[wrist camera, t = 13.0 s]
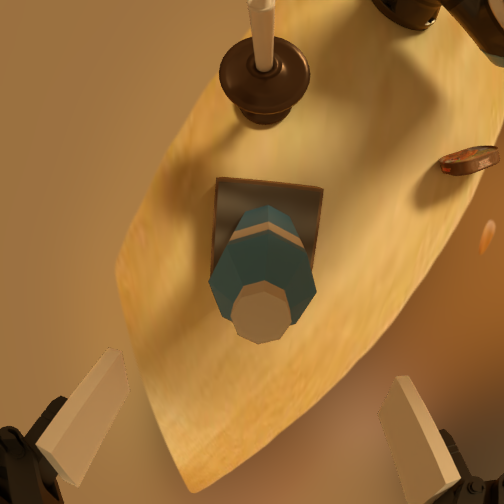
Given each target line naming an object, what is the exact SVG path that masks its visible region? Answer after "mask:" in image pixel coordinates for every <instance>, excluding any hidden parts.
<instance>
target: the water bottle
mask: <svg viewBox="0 0 504 504" xmlns="http://www.w3.org/2000/svg"><path fill="white" fill-rule="evenodd" d="M208 282H209V284H210V287H211V289H212V292H213V295H214V297H215V300H216V302H217V305H218V307H219V310H220V312H221V315H222V317H224V318H226V319H228V320H230V321H232V322H233V324H234V326H235V329H236V331H237V334H238V335H239V336H241V337H243V338H245V339H248V340H250V341H252V342H254V343H256V344H261V343H266V342H270V341H274V340H278V339H280V338H281V337H282V335H283V334H284V333H285V331H286V330H287V328H288V327H289V325H293V324H296V322H297V321H298V319H299V318H300V316H301V315H302V314H303V312H304V311H305V309H306V308H307V306H308V305H309V303H310V302H311V300H312V299H313V297H314V295H315V294H316V292H317V291H316V287H315V283H314V279H313V275H312V271H311V268H310V264H309V260H308V256H307V253H306V251H305V249H304V246H303V244H302V242H301V240H300V238H299V235H298V233H297V231H296V229H295V227H294V225H293V223H292V220H291V218H290V216H288V215H286V214H284V213H282V212H281V211H279V210H277V209H275V208H273V207H271V206H269V205H266V206H263V207H259V208H256V209H253V210H249V211H246V212H245V213H244V215H243V216H242V218H241V220H240V222H239V224H238V225H237V227H236V229H235V231H234V233H233V235H232V236H231V238H230V240H229V242H228V244H227V246H226V248H225V250H224V252H223V253H222V255H221V257H220V259H219V261H218V263H217V265H216V267H215V269H214V271H213V273H212V275H211V277H210V279H209V281H208Z"/></svg>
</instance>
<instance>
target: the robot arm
mask: <svg viewBox="0 0 504 504" xmlns="http://www.w3.org/2000/svg"><path fill="white" fill-rule="evenodd" d="M372 1H373V2H374V4H375V5H376V7H377V8H378V9H379V10H380V11H381V12H382V13H383V14H384V15H386V16H387V17H388V18H389V19H391V20H392V21H394V22H396V23H397V24H399V25H401V26H403V27H406V28H409V29H413V30H424V29H427V28H428V27H430V26H431V25H432V24H433V23H434V22H435V21H436V18H437V16H438V13H439V10H440V7H441V5H443V6H444V7H445V8H446V9H447V10H448V12H449V13H450V14H451V15H452V16H453V17H454V18H455V19H456V20H457V21H458V23H459V24H460V25H461V26H462V27H463V28H464V29H465V31H466V32H467V33H468V34H469V36H470V37H471V38H472V39H473V40H474V42H475V43H476V44H477V46H478V47H479V49H480V50H481V51H482V52H483V53H484V54H485V55H486V56H487V57H488V59H489V60H490V61H491V62H492V63H493V64H495V65H496V66H499V67H503V68H504V0H372ZM129 393H130V388H129V383H128V379H127V374H126V370H125V365H124V360H123V354H122V351H120V350H116V349H112V348H108V349H107V350H106V351H105V353H104V354H103V355H102V356H101V357H100V359H99V360H98V361H97V363H96V364H95V365H94V366H93V367H92V369H91V370H90V371H89V372H88V374H87V375H86V376H85V378H84V379H83V380H82V381H81V383H80V384H79V385H78V387H77V388H76V389H75V391H74V392H73V393H72V395H71V396H70V397H69V398H68V399H67V398H65V397H62V396H60V397H58V398H56V399H55V400H53V401H52V402H51V403H50V404H49V405H48V407H47V408H46V410H45V411H44V412H43V413H42V414H41V417H39V418H38V420H37V421H36V422H35V424H34V425H33V426H32V428H31V429H30V430H29V432H28V433H27V434H26V436H25V437H23V435H22V434H21V433H20V431H19V430H18V429H17V428H14V427H12V426H6V427H2V428H1V429H0V504H64V501H63V498H62V496H61V492H60V489H59V486H58V482H57V480H56V476H57V475H58V474H59V476H60V477H61V478H62V479H63V480H64V481H66V482H68V483H70V484H72V485H74V486H76V487H79V485H80V483H81V481H82V479H83V478H84V475H85V474H86V472H87V470H88V468H89V466H90V464H91V462H92V460H93V458H94V456H95V454H96V453H97V451H98V449H99V447H100V445H101V443H102V441H103V440H104V437H105V436H106V434H107V432H108V430H109V428H110V427H111V425H112V423H113V421H114V419H115V418H116V416H117V414H118V412H119V410H120V409H121V407H122V405H123V403H124V401H125V399H126V398H127V396H128V394H129ZM377 414H378V417H379V420H380V423H381V425H382V428H383V431H384V434H385V437H386V439H387V442H388V445H389V448H390V451H391V454H392V457H393V460H394V463H395V466H396V469H397V472H398V476H399V479H400V482H401V485H402V488H403V492H404V495H405V498H406V502H407V504H504V474H503V475H501V476H500V477H499V478H498V479H497V480H491V481H483V480H482V479H481V478H479V477H475V476H472V475H471V474H470V472H469V470H468V468H467V466H466V464H465V462H464V459H463V457H462V455H461V453H460V452H459V450H458V447H457V446H456V445H455V442H454V440H453V438H452V436H451V435H450V434H449V433H448V432H447V431H446V430H445V429H442V430H438V429H437V427H436V425H435V423H434V421H433V419H432V417H431V415H430V414H429V412H428V410H427V408H426V406H425V404H424V402H423V401H422V399H421V397H420V395H419V394H418V392H417V390H416V388H415V386H414V385H413V383H412V381H411V379H410V378H409V376H396V377H395V379H394V382H393V384H392V386H391V388H390V390H389V392H388V394H387V396H386V398H385V400H384V402H383V404H382V406H381V408H380V410H379V411H378V413H377Z"/></svg>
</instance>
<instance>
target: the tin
mask: <svg viewBox="0 0 504 504" xmlns="http://www.w3.org/2000/svg"><path fill="white" fill-rule="evenodd" d="M499 161H500V157H499V152H498V147H496V146H476V147H471V148H468V149H465V150H462V151H459V152H456V153H452V154H449V155H446V156H444V157H442V158H440V159H439V162H440V164H441V169H442V172H443V173H444V174H449V175H453V176H462V175H468V174H472V173H475V172H478V171H480V170H483V169H485V168H488V167H490V166H493V165H495V164H497V163H498V162H499Z"/></svg>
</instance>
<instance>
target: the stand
mask: <svg viewBox="0 0 504 504" xmlns="http://www.w3.org/2000/svg"><path fill="white" fill-rule="evenodd" d="M323 190H324V189H322V188H319V187H315V186H307V185H299V184H291V183H282V182H273V181H263V180H253V179H241V178H229V177H219V178H216V189H215V203H214V218H213V234H212V252H211V273H210V277H211V275H212V273H213V271H214V269H215V267H216V265H217V263H218V261H219V259H220V257H221V255H222V253H223V252H224V250H225V248H226V246H227V244H228V242H229V240H230V238H231V236H232V235H233V233H234V231H235V229H236V227H237V225H238V224H239V222H240V220H241V218H242V216H243V215H244V213H245V212H246V211H249V210H253V209H256V208H259V207H263V206H266V205H269V206H271V207H273V208H275V209H277V210H279V211H281V212H282V213H284V214H286V215H288V216H290V218H291V220H292V223H293V225H294V227H295V229H296V231H297V233H298V235H299V238H300V240H301V242H302V244H303V246H304V249H305V251H306V253H307V256H308V260H309V264H310V268H311V271H312V268H313V261H314V255H315V249H316V242H317V235H318V228H319V221H320V214H321V206H322V198H323Z"/></svg>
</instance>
